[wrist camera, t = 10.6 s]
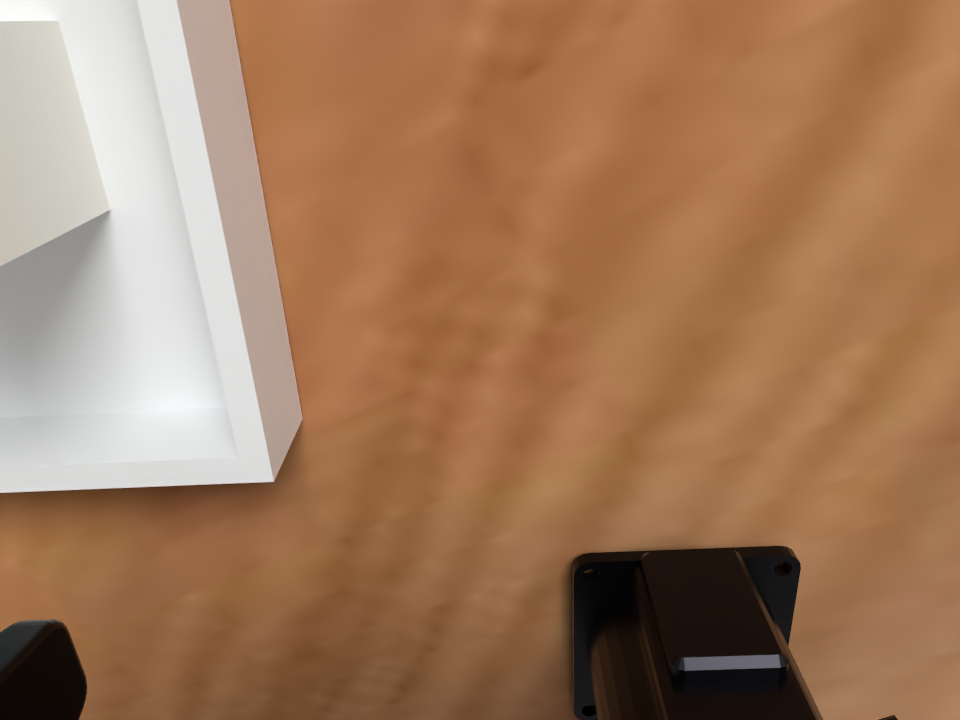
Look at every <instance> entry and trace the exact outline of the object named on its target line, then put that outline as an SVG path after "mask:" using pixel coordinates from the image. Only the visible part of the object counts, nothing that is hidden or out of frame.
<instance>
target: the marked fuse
mask: <svg viewBox="0 0 960 720" xmlns="http://www.w3.org/2000/svg"><path fill="white" fill-rule="evenodd" d="M109 210H110V206H109V203H108V199H107V195H106V192H105V188H104V184H103V181H102V177H101V173H100V170H99V166H98V163H97V159H96V155H95V152H94V148H93V144H92V141H91V137H90V133H89V130H88V126H87V122H86V119H85V115H84V112H83V108H82V104H81V101H80V97H79V93H78V90H77V86H76V82H75V79H74V75H73V71H72V68H71V64H70V61H69V57H68V53H67V50H66V46H65V42H64V39H63V35H62V31H61V28H60V24H59V21H0V266H2V265H4V264H6V263H8V262H9V261H11V260H13V259H15V258H17V257H19V256H21V255H23V254H25V253H27V252H29V251H31V250H33V249H35V248H37V247H39V246H41V245H43V244H45V243H46V242H48V241H50V240H52V239H54V238H56V237H58V236H60V235H62V234H64V233H66V232H68V231H70V230H72V229H74V228H76V227H78V226H80V225H82V224H83V223H85V222H87V221H89V220H91V219H93V218H95V217H97V216H99V215H101V214H103V213H105V212H107V211H109Z"/></svg>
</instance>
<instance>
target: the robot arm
mask: <svg viewBox="0 0 960 720" xmlns="http://www.w3.org/2000/svg"><path fill="white" fill-rule="evenodd" d="M781 562H786V563H785V564H783V565H782V566H778V567H775V566H776V565H777V564H779V563H781ZM589 569H595V570H596V571H595V572H594V573H590V574H589V573H584V572H585V571H586V570H589ZM800 569H801V567H800V562H799V560H798V559H797V557H796V555H795V553H794V552H793V551H792V549H790V548H788V547H784V546H768V547H741V548H714V549H687V550H660V551H633V552H606V553H588V554H583V555H581V556H579V557H577V559H576V560H575V561H574V563H573V567H572V651H573V708H574V713H575V716H576V717H577V718H578V719H580V720H823V718H822V716H821V714H820V712H819V710H818V708H817V706H816V704H815V702H814V700H813V697H812V695H811V693H810V691H809V689H808V687H807V685H806V683H805V681H804V679H803V677H802V674H801V672H800V670H799V668H798V666H797V664H796V662H795V660H794V658H793V656H792V654H791V651H790V649H789V647H788V644H789V638H790V631H791V625H792V619H793V613H794V606H795V600H796V594H797V588H798V582H799V575H800ZM86 694H87V682H86V676H85V673H84V670H83V668H82V665H81V663H80V660H79V657H78V655H77V652H76V649H75V647H74V644H73V641H72V639H71V636H70V633H69V631H68V629H67V627H66V626H65V625H64V624H63V623H62V622H61V621H58V620H53V619H52V620H25V621H20V622H17V623H14V624H12V625H11V626H9V627H7V628H6V629H4V630H3V631H1V632H0V720H79V718H80V715H81V712H82V710H83V707H84V703H85V699H86ZM587 705H590V706H587ZM879 720H897V718H896V717H895V715H892V716H889V717H886V718H882V719H879Z"/></svg>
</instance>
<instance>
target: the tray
mask: <svg viewBox="0 0 960 720" xmlns="http://www.w3.org/2000/svg"><path fill="white" fill-rule="evenodd" d="M0 21H59V24H60V28H61V31H62V35H63V39H64V42H65V46H66V50H67V53H68V57H69V61H70V64H71V68H72V71H73V75H74V79H75V82H76V86H77V90H78V93H79V97H80V101H81V104H82V108H83V112H84V115H85V119H86V122H87V126H88V130H89V133H90V137H91V141H92V144H93V148H94V152H95V155H96V159H97V163H98V166H99V170H100V173H101V177H102V181H103V184H104V188H105V192H106V195H107V199H108V203H109V206H110V210H109V211H107V212H105V213H103V214H101V215H99V216H97V217H95V218H93V219H91V220H89V221H87V222H85V223H83V224H82V225H80V226H78V227H76V228H74V229H72V230H70V231H68V232H66V233H64V234H62V235H60V236H58V237H56V238H54V239H52V240H50V241H48V242H46V243H45V244H43V245H41V246H39V247H37V248H35V249H33V250H31V251H29V252H27V253H25V254H23V255H21V256H19V257H17V258H15V259H13V260H11V261H9V262H8V263H6V264H4V265H2V266H0V493H9V492H33V491H58V490H83V489H108V488H132V487H157V486H182V485H207V484H231V483H256V482H274V480H275V478H276V476H277V474H278V472H279V470H280V467H281V465H282V463H283V461H284V459H285V456H286V454H287V452H288V450H289V448H290V445H291V443H292V441H293V439H294V437H295V435H296V432H297V430H298V428H299V426H300V424H301V421H302V419H303V418H302V412H301V406H300V400H299V395H298V389H297V383H296V378H295V372H294V366H293V361H292V355H291V349H290V343H289V338H288V332H287V326H286V321H285V315H284V309H283V303H282V298H281V292H280V286H279V281H278V275H277V269H276V264H275V258H274V252H273V246H272V241H271V235H270V229H269V224H268V218H267V212H266V206H265V201H264V195H263V189H262V184H261V178H260V172H259V167H258V161H257V155H256V149H255V144H254V138H253V132H252V127H251V121H250V115H249V109H248V104H247V98H246V92H245V87H244V81H243V75H242V70H241V64H240V58H239V52H238V47H237V41H236V35H235V30H234V24H233V18H232V12H231V7H230V1H229V0H0Z"/></svg>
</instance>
